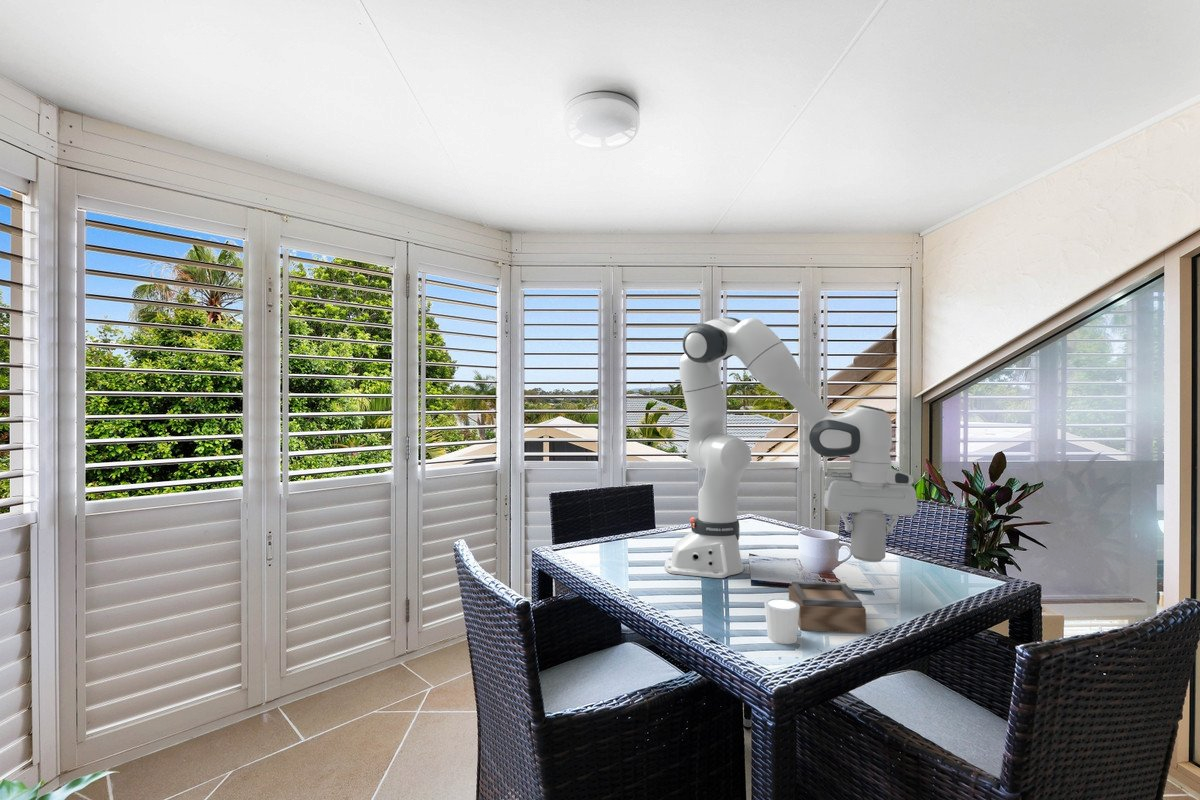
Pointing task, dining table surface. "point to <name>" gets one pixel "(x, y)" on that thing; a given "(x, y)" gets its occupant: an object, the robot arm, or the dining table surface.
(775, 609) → the white cylinder
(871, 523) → the can
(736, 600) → the dining table surface
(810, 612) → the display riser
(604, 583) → the dining table surface
